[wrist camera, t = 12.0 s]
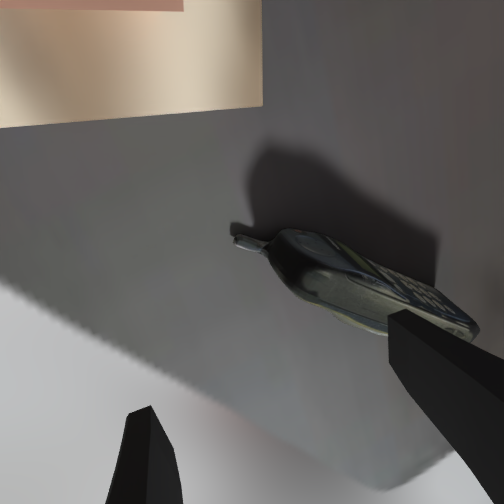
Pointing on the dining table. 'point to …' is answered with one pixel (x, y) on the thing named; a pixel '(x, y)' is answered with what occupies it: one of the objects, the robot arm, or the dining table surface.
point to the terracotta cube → (97, 5)
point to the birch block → (128, 62)
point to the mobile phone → (354, 284)
